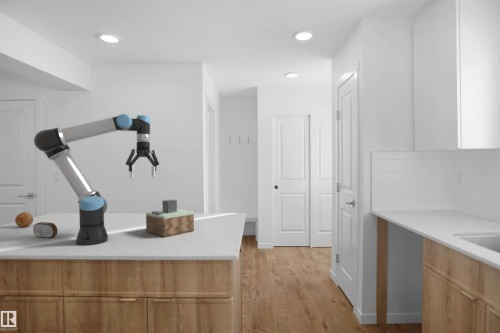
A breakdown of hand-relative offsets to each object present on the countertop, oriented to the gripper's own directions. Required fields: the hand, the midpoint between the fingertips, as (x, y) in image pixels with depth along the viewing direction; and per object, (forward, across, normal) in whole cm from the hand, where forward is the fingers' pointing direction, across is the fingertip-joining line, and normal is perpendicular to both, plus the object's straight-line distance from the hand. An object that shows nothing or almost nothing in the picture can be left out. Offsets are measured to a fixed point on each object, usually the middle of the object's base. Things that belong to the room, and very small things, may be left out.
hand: (142, 177), depth 186 cm
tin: (+35, -43, +30) cm, 63 cm away
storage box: (+33, +12, -12) cm, 37 cm away
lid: (+22, +12, -12) cm, 28 cm away
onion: (+35, -45, +74) cm, 93 cm away
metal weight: (+21, +12, -12) cm, 26 cm away
